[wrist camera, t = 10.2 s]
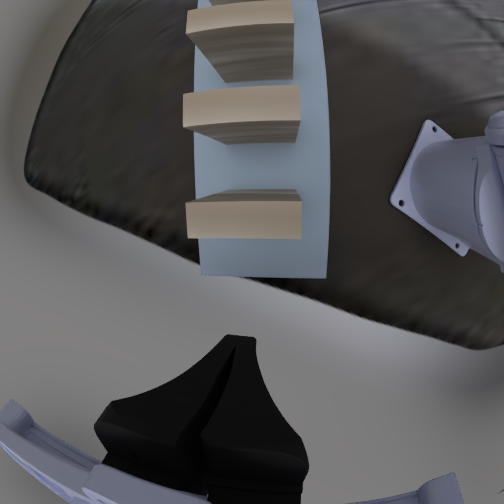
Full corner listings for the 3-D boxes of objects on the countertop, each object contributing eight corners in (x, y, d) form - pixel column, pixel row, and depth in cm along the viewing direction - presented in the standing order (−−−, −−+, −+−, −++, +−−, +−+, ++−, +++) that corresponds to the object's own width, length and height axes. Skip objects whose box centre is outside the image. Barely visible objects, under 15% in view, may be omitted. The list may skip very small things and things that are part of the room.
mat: (325, 276, 21) (326, 278, 21) (202, 273, 22) (201, 275, 22) (305, -48, 12) (305, -51, 12) (203, -41, 13) (202, -43, 13)
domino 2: (295, 143, 18) (300, 120, 10) (226, 144, 19) (183, 127, 11) (294, 121, 18) (299, 85, 10) (225, 124, 18) (183, 93, 10)
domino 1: (292, 80, 17) (294, 23, 9) (225, 83, 17) (185, 33, 9) (291, 62, 16) (291, -1, 8) (225, 65, 17) (187, 10, 9)
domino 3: (295, 211, 20) (301, 239, 11) (228, 211, 20) (187, 238, 12) (295, 189, 19) (302, 201, 11) (227, 189, 20) (185, 202, 12)
